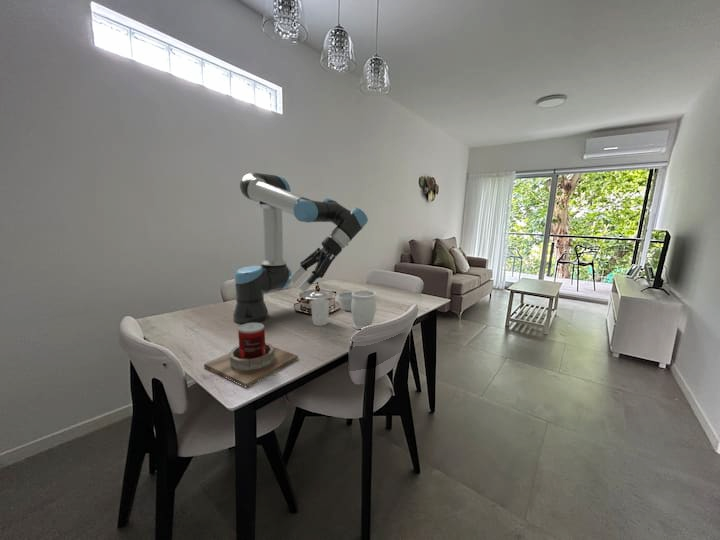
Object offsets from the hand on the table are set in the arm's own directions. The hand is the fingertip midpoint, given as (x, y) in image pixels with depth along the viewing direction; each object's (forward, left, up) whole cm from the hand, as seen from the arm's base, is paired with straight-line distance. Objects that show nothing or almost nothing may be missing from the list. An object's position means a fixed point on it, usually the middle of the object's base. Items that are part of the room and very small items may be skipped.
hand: (296, 285), depth 105 cm
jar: (+12, +28, -22) cm, 38 cm away
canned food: (-1, -19, -21) cm, 28 cm away
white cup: (-6, +21, -22) cm, 31 cm away
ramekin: (-7, +47, -22) cm, 52 cm away
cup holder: (-1, -19, -22) cm, 29 cm away
